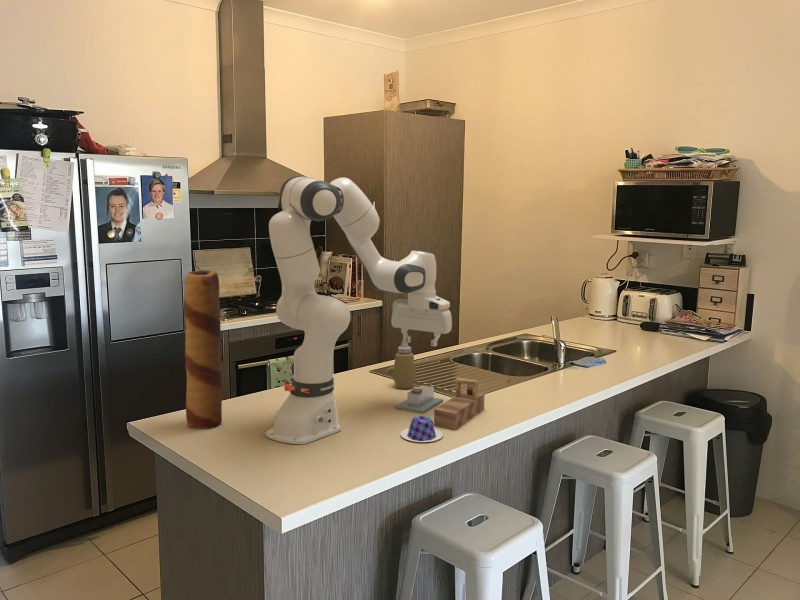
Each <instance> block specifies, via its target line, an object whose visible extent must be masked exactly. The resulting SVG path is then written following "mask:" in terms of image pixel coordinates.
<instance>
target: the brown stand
mask: <svg viewBox="0 0 800 600" xmlns="http://www.w3.org/2000/svg"><path fill="white" fill-rule="evenodd" d="M461 384H466V390H463V391H461V386H462V385H461ZM478 388H479V380H478V379H477V380H476V379H472V378H471V379H470V378H465V377H464V378H463V377H459V376H458V377H457V378H455V393H454V396H453V397H452V398H450V399H448V400H447V401H445V402H444V403H441V404H439V405H438V407H436V408H434V409H433V410H434V411H433V414H434V416H433V425H434V427H439V428H444V429H450V430H454V431H457V430H458V429H459V428H461V427H462V426H464V424H466V423H467V422H469V420H471V419H473V418H474V417H475V416H476V415H478V414H479V413H481V412H482V411H483V410H485V397H486V396H485V393H482V392H481V393H480V392H478V390H479V389H478Z"/></svg>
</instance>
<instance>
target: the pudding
mask: <svg viewBox="0 0 800 600" xmlns="http://www.w3.org/2000/svg"><path fill="white" fill-rule="evenodd" d="M436 435H437V437H436ZM400 436H401V437H402V438H403V439H405V440H408V441H411V442H416V443H429V442H435V441H439V440H440V439H442V438H443V436H444V434H443V432H442V430H441V431H440V429H437V428H435V426H434V420H433V419H432V418H431V417H429V416H426V415H422V416H421V415H418V416H414V417H413V418H412V419H411V420H410V423H409V427H408V428H407V427H406V428H405V429H403V430H402V431H401V432H400ZM435 437H436V438H435ZM428 440H430V441H428Z"/></svg>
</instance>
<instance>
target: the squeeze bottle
mask: <svg viewBox="0 0 800 600" xmlns="http://www.w3.org/2000/svg"><path fill="white" fill-rule="evenodd" d="M414 356H415V355H414V353H413V352H412V347H411V346H409V343H406V342H404V336H403V337H402V340H401V345H400V346H398V347H397V352H396V353H395V357H394V363H393V373H392V378H393V382H394V385H395V388H397V389H403V390H405V389H407V390H408V389H412V388H413V386H414V383H415V381H416V378H417V377H416V366H415V357H414Z"/></svg>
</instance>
